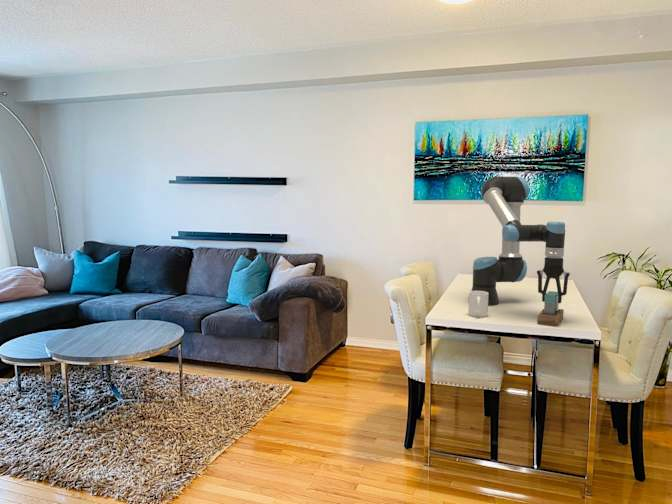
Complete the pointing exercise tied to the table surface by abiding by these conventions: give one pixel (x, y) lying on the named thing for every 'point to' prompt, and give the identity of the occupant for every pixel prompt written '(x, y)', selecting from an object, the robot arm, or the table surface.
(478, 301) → the mug
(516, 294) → the table surface
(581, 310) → the table surface
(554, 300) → the tall teal block
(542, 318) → the brown wooden frame
